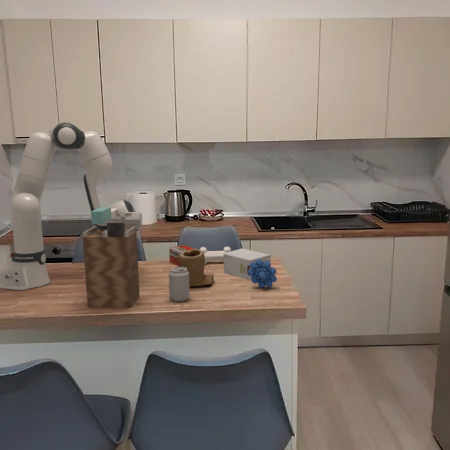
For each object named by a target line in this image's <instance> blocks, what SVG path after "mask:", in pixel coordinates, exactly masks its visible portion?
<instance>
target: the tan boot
mask: <svg viewBox="0 0 450 450" xmlns="http://www.w3.org/2000/svg"><path fill="white" fill-rule="evenodd" d="M179 262H180V267H185V268H187V271H188V272H189V287H200V286H208V285H212V284H213V282H214V277H215V276H214V275H215V274H205V272H204V271H205V265H206V264H205V255H204V253H203V251H202V250H200V248H199V249H198V248H193V249H192V250H189V251H184V252H182V253H181V254H180V256H179Z"/></svg>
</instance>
